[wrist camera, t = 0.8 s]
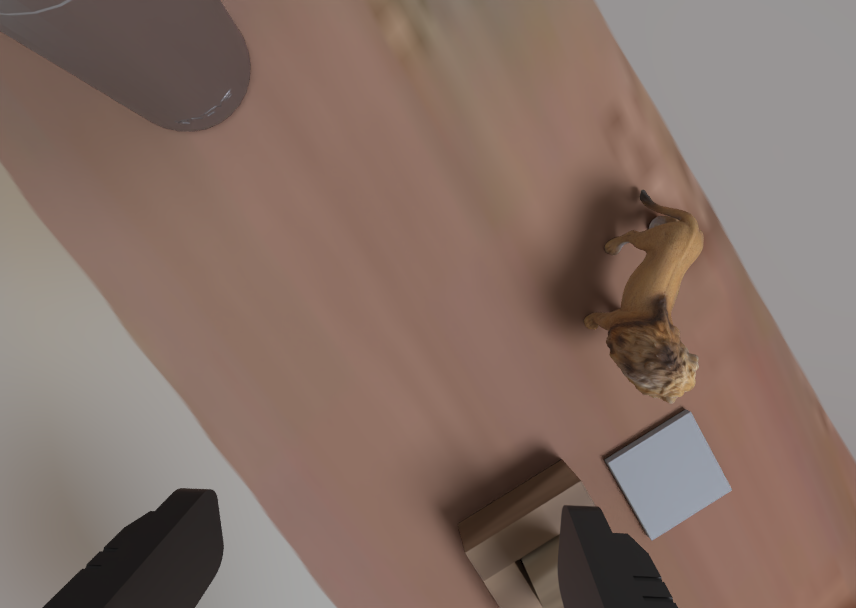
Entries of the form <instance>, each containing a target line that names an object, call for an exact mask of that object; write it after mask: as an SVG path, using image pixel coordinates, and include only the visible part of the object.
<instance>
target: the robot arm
mask: <svg viewBox="0 0 856 608" xmlns="http://www.w3.org/2000/svg"><path fill="white" fill-rule="evenodd" d="M0 31H1V32H3V33H4V34H6V35H8V36H9V37H11V38H13V39H14V40H16V41H18V42H19V43H21V44H23V45H24V46H26V47H28V48H29V49H31V50H33V51H34V52H36V53H38V54H39V55H41V56H43V57H44V58H46V59H48V60H49V61H51V62H53V63H54V64H56V65H57V66H59V67H61V68H62V69H64V70H66V71H67V72H69V73H71V74H72V75H74V76H76V77H77V78H79V79H81V80H82V81H84V82H86V83H87V84H89V85H91V86H92V87H94V88H96V89H97V90H99V91H101V92H102V93H104V94H106V95H107V96H109V97H111V98H112V99H114V100H115V101H117V102H119V103H120V104H122V105H124V106H125V107H127V108H129V109H130V110H132V111H134V112H135V113H137V114H139V115H140V116H142V117H144V118H145V119H147V120H149V121H150V122H152V123H155V124H157V125H159V126H161V127H164V128H167V129H171V130H176V131H198V130H204V129H208V128H210V127H212V126H215V125H217V124H219V123H221V122H222V121H224V120H225V119H226V118H228V117H229V116H230V115H231V114H232V113H233V112H234V111H235V110H236V108H237V107H238V106H239V105H240V103H241V101H242V99H243V98H244V96H245V94H246V91H247V87H248V84H249V80H250V59H249V52H248V48H247V46H246V43H245V40H244V38H243V36H242V34H241V32H240V31H239V29H238V28H237V26H236V24H235V23H234V21H233V20H232V18H231V16H230V15H229V13H228V12H227V10H226V9H225V7H224V5H223V4H222V2H221V1H220V0H0ZM223 549H224V545H223V536H222V529H221V521H220V515H219V507H218V499H217V495H216V493H215V491H213V490H211V489H186V488H180V489H177V490H176V491H174V492H173V493H172V494H171V495H170V496H169V497H168V498H167V499H166V501H164V502H163V503H162V504H161V506H160V507H159V508H158V509H157V510H156V511H150V512H148V513H147V514H145V515H143V516H142V517H141V518H139V519H137V520H136V521H134V522H132V523H131V524H129V525H128V526H126V527H124V528H123V529H122V530H121V532H119V533H118V534H117V535H116V536H115V538H113V539H112V540H111V541H110V542H109V543H108V544H107V545H106V546H105V547H104V550H103V552H99V553H98V554H97V555H96V556H95V557H94V558H93V559H92V560H91V561H90V562H89V563H88V564H87V566H86V568H85V569H82V570H80V572H79V573H77V574H76V575H75V576H74V577H73V578H72V579H71V580H70V581H69V582H68V583H67V584H66V585H65V586H64V587H63V588H62V589H61V590H60V591H59V592H58V593H57V594H56V595H55V596H54V597H53V598H52V599H51V600H50V601H49V602H48V603H47V604H46V605H45V606H44V607H43V608H195V607H196V605H197V604H198V602H199V600H200V599H201V597H202V596H203V594H204V593H205V591H206V590H207V588H208V587H209V585H210V583H211V582H212V580H213V579H214V577H215V575H216V573H217V572H218V569H219V567H220V564H221V561H222V556H223ZM557 568H558V582H559V589H560V594H561V598H562V602H563V606H564V608H678V607H677V605H676V603H673V599H672V596H671V594H670V592H669V590H668V589H667V587H666V585H665V583H664V582H662V580H661V576H660V574H659V572H658V570H657V569H656V567H655V565H654V563H653V561H652V559H651V558H650V556H649V554H648V553H647V552H646V551H645V550H644V549H643V548H642V547H641V546H640V545H639V544H638V543H637V542H636V541H635V540H634V539H633V538H632V537H630V536H629V535H628V534H623V533H612V531H611V529H610V527H609V525H608V523H607V520H606V518H605V516H604V514H603V512H602V510H601V509H600V508H599V507H597V506H574V505H564V506H563V508H562V513H561V525H560V538H559V550H558V567H557Z"/></svg>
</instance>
